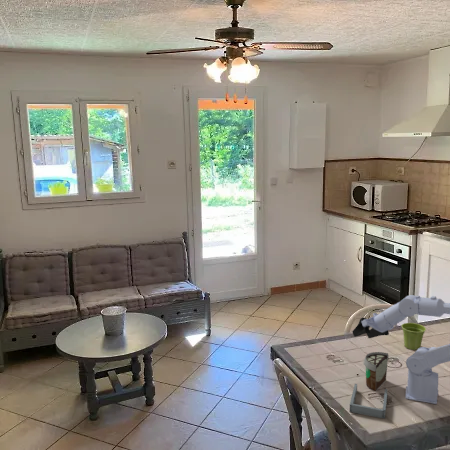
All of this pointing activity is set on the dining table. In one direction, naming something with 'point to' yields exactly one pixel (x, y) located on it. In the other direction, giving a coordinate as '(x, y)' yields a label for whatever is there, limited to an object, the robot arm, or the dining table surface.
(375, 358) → the food container
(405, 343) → the plant pot
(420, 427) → the dining table surface
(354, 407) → the bay
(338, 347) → the dining table surface
